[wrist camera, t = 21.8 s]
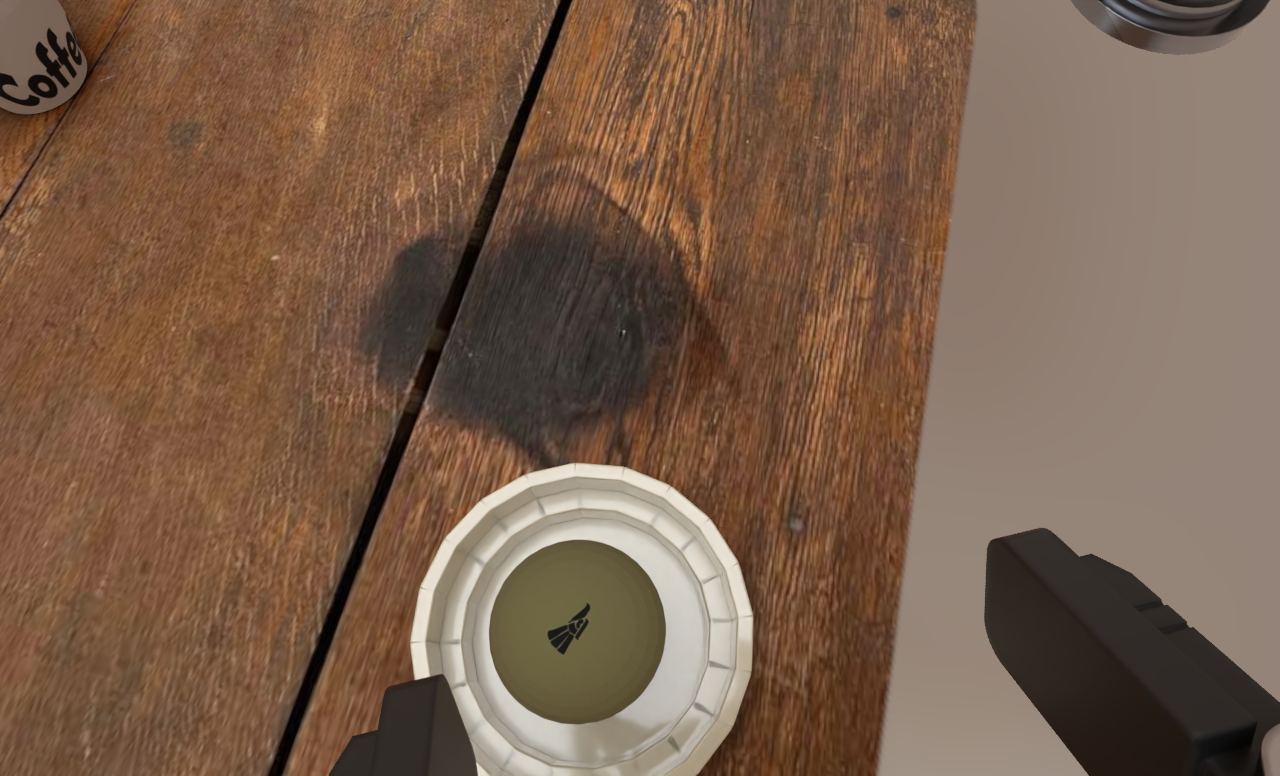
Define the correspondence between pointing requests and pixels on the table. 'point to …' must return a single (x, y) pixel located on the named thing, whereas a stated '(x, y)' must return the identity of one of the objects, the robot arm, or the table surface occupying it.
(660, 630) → the light bulb
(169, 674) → the table surface
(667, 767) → the bowl
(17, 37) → the cup
